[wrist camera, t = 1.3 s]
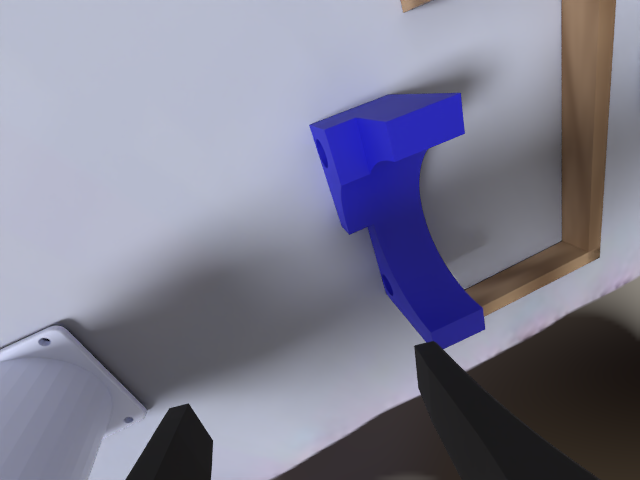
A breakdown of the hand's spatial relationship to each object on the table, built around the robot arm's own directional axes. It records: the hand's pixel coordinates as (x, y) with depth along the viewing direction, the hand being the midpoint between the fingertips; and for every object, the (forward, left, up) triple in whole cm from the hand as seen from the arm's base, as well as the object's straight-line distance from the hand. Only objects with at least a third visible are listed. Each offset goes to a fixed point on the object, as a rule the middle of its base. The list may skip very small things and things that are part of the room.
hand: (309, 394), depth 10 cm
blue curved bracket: (+7, 0, -10) cm, 12 cm away
